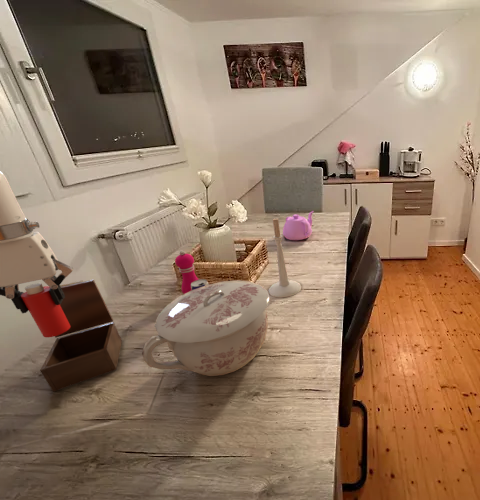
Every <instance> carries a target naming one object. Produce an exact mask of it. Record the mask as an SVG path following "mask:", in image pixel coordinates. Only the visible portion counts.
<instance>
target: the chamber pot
mask: <svg viewBox="0 0 480 500" xmlns="http://www.w3.org/2000/svg"><path fill="white" fill-rule="evenodd" d="M208 284H209V285H205V286H203V287H200V288H197V289H194V290H192V291H190V292H188V293H186V294H182V295H180V296H178V297H176V298H175V299H174V300H172V301H171V302H169V303H168V304H167V305H166V306H165V307H164V308H162V310H161V311H160V313H159V314H158V315H157V317H156V320H155V323H154V329H155V330H156V333H157V335H153V336H151V337H149V338H148V340H147V341H146V342H145V343H144V345H143V348H142V352H141V355H142V358H143V362H145V364H147V366H148V367H149V368H153V369H158V370H163V371H165V370H183V371H189V372H194V373H196V374H199V375H201V376H208V377H219V376H225V375H228V374H231V373H234V372H237V371H238V370H240V369H242V368H243V367H245V366H247V365H248V364H249V363H250V362H251V361H253V359H254V358H255V357H256V356H257V355H258V353H259V351H260V349H261V348H262V347H263V345H264V343H265V341H266V338H267V333H268V325H269V317H268V313H267V308H268V306H269V302H270V299H271V298H270V294H269V290H267V289H266V288H265V287H263V286H262V285H261V284H259V283H256V282H253V281H249V280H237V279H236V280H235V279H234V280H224V281H218V282H214V283H213V282H212V283H208ZM165 343H167V348H168V349H169V350H170V351H172V354H173V356H174V357H175V359H176V360H168V361H162V360H157V359H155V358H154V357H153V350H154V349H155V348H156V347H158V346H159V345H161V344H165Z"/></svg>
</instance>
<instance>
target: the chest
mask: <svg viewBox="0 0 480 500" xmlns="http://www.w3.org/2000/svg"><path fill="white" fill-rule="evenodd" d="M120 335H121V334H120V333H119V331H118V329H117V327H116V323H115V322H114V321H113V322H109V323H106V324H102V325H99V326H95V327H92V328H88V329H85V330H81V331H77V332H74V333H70V334H67V335H63V336H60V337H56V338H55V340H54V342H53V345H52V346H51V349H50V350H49V352H48V354H47V356H46V358H45V360H44V362H43V364H42V366H41V367H40V370H39V371H40V373H41V375H42V376H43V378H44V380H45V381H46V383H47V384H48V386H49V388H50V389H51V390H52V392H57V391H60V390H62V389H65V388H68V387H71V386H73V385H74V386H75V385H77V384H80V383H82V382H85V381H88V380H91V379H94V378H97V377H99V376H102V375H103V376H104V375H105V374H108V373H111V372H114V371H116V370H117V368H118V363H119V358H120V354H121V347H122V337H121V336H120Z"/></svg>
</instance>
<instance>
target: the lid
mask: <svg viewBox="0 0 480 500" xmlns="http://www.w3.org/2000/svg"><path fill="white" fill-rule="evenodd" d="M97 285H98V284H97V283H96V280H95V279H90V280H78V281H77V280H76V281H73V282H68V283H63V284H60V287H61V289H62V291H63V293H64V295H65V298H64V299H63V301H62V303H61V304H60V306H61V308H62V310H63V312H64V314H65V316H66V318H67V320H68V322H69V324H70V326H71V327H70V328H69V329H68V330H67V331H66V332H64V333H62V334H60V335H57V336H54V338H55V339H57V338H59V337H63V336H66V335H70V334H73V333H77V332H81V331H84V330H88V329H91V328H95V327H98V326H102V325H105V324H109V323H112V322H114V319H113V317H112V314H111V312H110V310H109V308H108V306H107V304H106V302H105V300H104V298H103V296H102V294H101V292H100V290H99V288H98V286H97Z"/></svg>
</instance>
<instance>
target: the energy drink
mask: <svg viewBox="0 0 480 500" xmlns="http://www.w3.org/2000/svg"><path fill="white" fill-rule="evenodd" d="M209 284H210V283H209V282H208V279H205V278H200V279H199V280H196V281H194V282H192V283H191V289H192V290H194V289H197V288H200V287H203V286H205V285H209Z"/></svg>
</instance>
